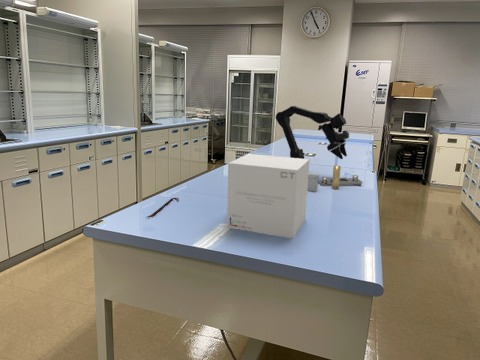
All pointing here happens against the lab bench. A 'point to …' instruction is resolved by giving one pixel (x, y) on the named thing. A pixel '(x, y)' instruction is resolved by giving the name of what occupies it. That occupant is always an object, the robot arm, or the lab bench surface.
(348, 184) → the metal bracket
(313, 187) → the medicine box
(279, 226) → the cube
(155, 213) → the crowbar
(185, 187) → the lab bench surface
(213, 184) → the lab bench surface
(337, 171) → the brass pin
